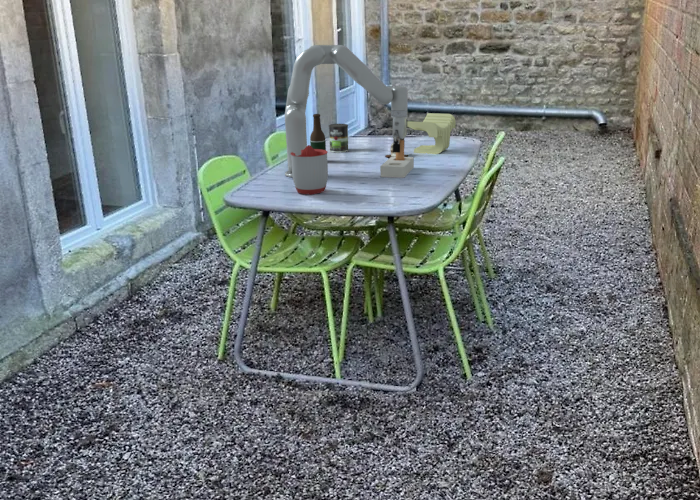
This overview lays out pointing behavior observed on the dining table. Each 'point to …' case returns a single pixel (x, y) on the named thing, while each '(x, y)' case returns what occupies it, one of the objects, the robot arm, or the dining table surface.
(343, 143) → the coffee can
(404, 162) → the block
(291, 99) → the robot arm
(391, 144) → the skull
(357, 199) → the dining table surface
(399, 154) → the peg
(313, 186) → the citrus juicer
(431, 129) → the slatted curved stool
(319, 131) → the beer bottle
